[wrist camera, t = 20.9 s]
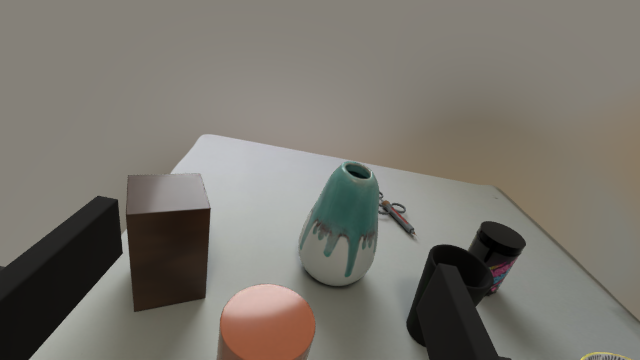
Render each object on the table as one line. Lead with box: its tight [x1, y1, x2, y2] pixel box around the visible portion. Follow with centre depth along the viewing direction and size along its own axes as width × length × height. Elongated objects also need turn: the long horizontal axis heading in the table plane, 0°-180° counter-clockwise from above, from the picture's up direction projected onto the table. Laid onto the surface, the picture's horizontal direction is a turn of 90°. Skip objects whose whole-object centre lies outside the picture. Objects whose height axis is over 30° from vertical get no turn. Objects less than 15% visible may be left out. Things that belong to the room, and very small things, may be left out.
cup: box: [407, 244, 494, 347], centre depth 42 cm, size 8×8×12 cm
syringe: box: [378, 191, 415, 234], centre depth 69 cm, size 8×18×2 cm, turn 23°
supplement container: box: [468, 221, 526, 295], centre depth 54 cm, size 7×7×10 cm
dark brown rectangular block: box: [126, 173, 211, 312], centre depth 40 cm, size 8×8×14 cm
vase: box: [298, 162, 379, 286], centre depth 48 cm, size 12×12×18 cm
